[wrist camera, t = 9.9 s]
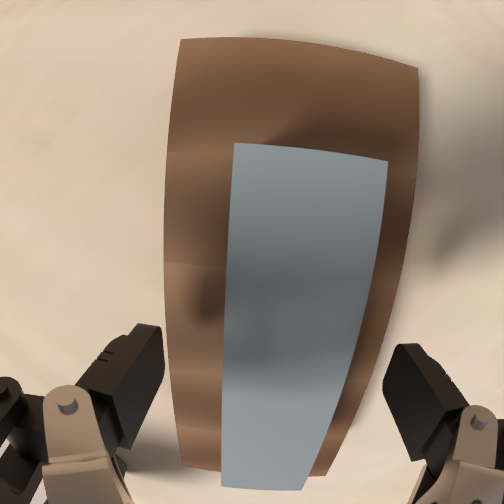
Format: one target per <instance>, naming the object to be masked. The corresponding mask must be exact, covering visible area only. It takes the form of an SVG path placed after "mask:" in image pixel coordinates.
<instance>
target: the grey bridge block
mask: <svg viewBox="0 0 504 504" xmlns="http://www.w3.org/2000/svg"><path fill="white" fill-rule="evenodd" d="M387 168H388V161H383V160H378V159H373V158H367V157H361V156H355V155H349V154H342V153H335V152H328V151H321V150H313V149H304V148H295V147H285V146H274V145H261V144H246V143H234V154H233V168H232V183H231V198H230V214H229V231H228V249H227V269H226V291H225V315H224V343H223V378H222V436H221V486H223V487H232V488H242V489H256V490H302V488H303V486H304V484H305V482H306V480H307V477H308V475H309V473H310V471H311V469H312V466H313V464H314V462H315V460H316V457H317V455H318V453H319V450H320V448H321V445H322V443H323V441H324V438H325V436H326V433H327V431H328V428H329V425H330V423H331V420H332V417H333V415H334V412H335V409H336V406H337V404H338V401H339V398H340V395H341V392H342V389H343V386H344V383H345V380H346V377H347V373H348V370H349V367H350V364H351V360H352V357H353V353H354V350H355V346H356V343H357V339H358V335H359V332H360V328H361V324H362V320H363V316H364V312H365V307H366V303H367V299H368V294H369V289H370V285H371V280H372V275H373V270H374V265H375V259H376V254H377V248H378V242H379V235H380V229H381V222H382V215H383V207H384V199H385V190H386V180H387Z"/></svg>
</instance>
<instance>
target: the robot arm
mask: <svg viewBox="0 0 504 504" xmlns="http://www.w3.org/2000/svg"><path fill="white" fill-rule="evenodd" d="M164 371H165V361H164V350H163V339H162V330H161V328H160V327H159V326H152V325H147V324H141V323H138V324H137V325H136V326H135V327H134V329H133V330H132V331H131V332H130V334H129V335H128V336H127V335H121V336H119V337H118V338H116V339H114V340H112V341H111V342H110V343H109V344H108V345H107V346H106V348H105V349H104V350H103V352H101V354H100V355H99V356H98V357H97V360H95V361H94V362H93V363H92V364H91V366H90V367H89V368H88V369H87V370H86V372H85V373H84V374H83V375H82V377H81V378H80V379H79V380H78V382H77V383H76V384H75V385H74V386H73V385H65V386H60V387H57V388H55V389H53V390H51V391H50V392H49V393H48V394H47V395H46V396H45V397H44V396H36V395H30V394H24V393H23V391H22V389H21V386H20V384H19V383H18V381H16V380H15V379H13V378H11V377H0V447H1V445H2V444H3V442H4V441H5V439H6V438H7V439H8V440H9V442H10V444H9V446H8V447H7V449H6V450H5V452H4V453H3V455H2V456H1V458H0V504H30V502H31V500H32V498H33V496H34V494H35V492H36V490H37V488H38V486H39V484H40V482H41V480H42V478H43V480H44V486H45V490H46V495H47V500H48V504H134V502H133V499H132V497H131V495H130V493H129V491H128V488H127V486H126V484H125V482H124V479H123V477H122V474H121V472H120V469H119V467H118V464H117V462H116V459H115V457H114V453H115V451H116V449H117V447H118V446H119V447H122V448H125V449H128V450H130V449H131V447H132V445H133V442H134V440H135V438H136V436H137V434H138V431H139V429H140V427H141V425H142V423H143V421H144V418H145V416H146V414H147V412H148V410H149V408H150V406H151V403H152V401H153V399H154V397H155V395H156V393H157V391H158V389H159V387H160V384H161V382H162V380H163V377H164ZM382 390H383V395H384V397H385V399H386V402H387V404H388V406H389V409H390V411H391V413H392V415H393V418H394V420H395V422H396V425H397V427H398V430H399V432H400V434H401V437H402V439H403V442H404V444H405V447H406V449H407V451H408V454H409V457H410V459H411V462H413V461H417V460H421V459H425V460H426V464H425V465H424V466H423V468H422V470H421V472H420V475H419V478H418V480H417V482H416V485H415V487H414V489H413V492H412V494H411V496H410V498H409V501H408V503H407V504H504V419H496V417H495V415H494V414H493V413H492V412H491V411H490V410H489V409H487V408H485V407H483V406H479V405H471V406H470V405H469V404H468V402H467V401H466V399H465V398H464V396H463V395H462V394H461V392H460V391H459V389H458V388H457V387H456V385H455V384H454V383H453V382H451V379H450V377H449V376H448V374H446V372H445V370H444V369H443V368H442V366H441V365H440V364H439V363H438V362H436V361H435V360H434V359H432V358H431V357H430V356H428V355H427V354H426V352H425V351H424V350H423V348H422V347H421V346H420V345H419V344H418V343H410V344H398V345H397V346H396V347H395V349H394V352H393V355H392V358H391V361H390V363H389V366H388V369H387V371H386V374H385V376H384V379H383V385H382Z"/></svg>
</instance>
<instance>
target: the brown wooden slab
mask: <svg viewBox="0 0 504 504" xmlns="http://www.w3.org/2000/svg"><path fill="white" fill-rule="evenodd" d="M418 140H419V80H418V68H415V67H412V66H409V65H406V64H403V63H399V62H396V61H393V60H389V59H386V58H382V57H378V56H374V55H370V54H366V53H362V52H358V51H353V50H348V49H343V48H338V47H333V46H327V45H321V44H314V43H307V42H299V41H290V40H279V39H265V38H239V37H220V38H194V39H181V41H180V47H179V53H178V59H177V66H176V73H175V80H174V88H173V96H172V104H171V113H170V123H169V134H168V146H167V160H166V177H165V199H164V294H165V316H166V333H167V347H168V359H169V370H170V380H171V389H172V398H173V406H174V414H175V421H176V428H177V435H178V441H179V447H180V453H181V459H182V464H183V466H186V467H192V468H197V469H203V470H210V471H217V472H221V436H222V378H223V343H224V315H225V291H226V269H227V249H228V231H229V214H230V198H231V183H232V168H233V154H234V143H246V144H261V145H274V146H285V147H295V148H304V149H313V150H321V151H328V152H335V153H342V154H349V155H355V156H361V157H367V158H373V159H378V160H383V161H388V168H387V180H386V190H385V199H384V207H383V215H382V222H381V229H380V235H379V242H378V248H377V254H376V259H375V265H374V270H373V275H372V280H371V285H370V289H369V294H368V299H367V303H366V307H365V312H364V316H363V320H362V324H361V328H360V332H359V335H358V339H357V343H356V346H355V350H354V353H353V357H352V360H351V364H350V367H349V370H348V373H347V377H346V380H345V383H344V386H343V389H342V392H341V395H340V398H339V401H338V404H337V406H336V409H335V412H334V415H333V417H332V420H331V423H330V425H329V428H328V431H327V433H326V436H325V438H324V441H323V443H322V445H321V448H320V450H319V453H318V455H317V457H316V460H315V462H314V464H313V466H312V469H311V471H310V473H309V475H308V476H326V474H327V472H328V470H329V468H330V466H331V465H332V463H333V461H334V459H335V457H336V455H337V453H338V451H339V449H340V447H341V445H342V443H343V441H344V439H345V437H346V434H347V432H348V430H349V428H350V426H351V423H352V421H353V419H354V417H355V414H356V412H357V410H358V407H359V405H360V402H361V400H362V397H363V395H364V392H365V390H366V387H367V385H368V382H369V379H370V377H371V374H372V371H373V368H374V366H375V363H376V360H377V357H378V354H379V351H380V348H381V345H382V342H383V338H384V335H385V332H386V328H387V325H388V322H389V318H390V315H391V311H392V307H393V303H394V300H395V296H396V292H397V287H398V283H399V279H400V274H401V270H402V265H403V260H404V255H405V250H406V245H407V239H408V234H409V227H410V221H411V214H412V207H413V199H414V191H415V181H416V171H417V158H418Z"/></svg>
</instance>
